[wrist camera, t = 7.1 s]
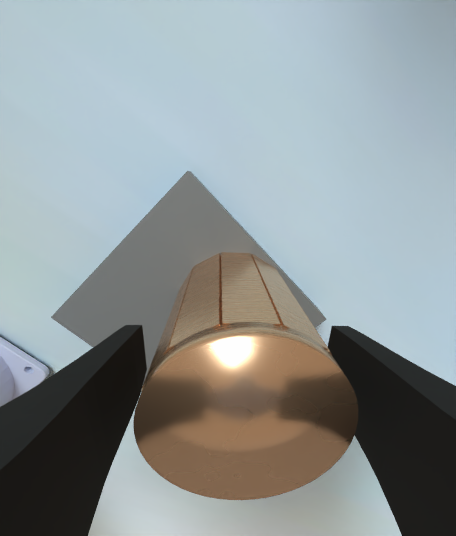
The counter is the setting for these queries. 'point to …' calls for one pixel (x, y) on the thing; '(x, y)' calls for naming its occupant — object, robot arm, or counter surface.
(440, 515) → the robot arm
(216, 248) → the base
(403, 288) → the counter surface
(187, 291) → the copper topped wooden cylinder
